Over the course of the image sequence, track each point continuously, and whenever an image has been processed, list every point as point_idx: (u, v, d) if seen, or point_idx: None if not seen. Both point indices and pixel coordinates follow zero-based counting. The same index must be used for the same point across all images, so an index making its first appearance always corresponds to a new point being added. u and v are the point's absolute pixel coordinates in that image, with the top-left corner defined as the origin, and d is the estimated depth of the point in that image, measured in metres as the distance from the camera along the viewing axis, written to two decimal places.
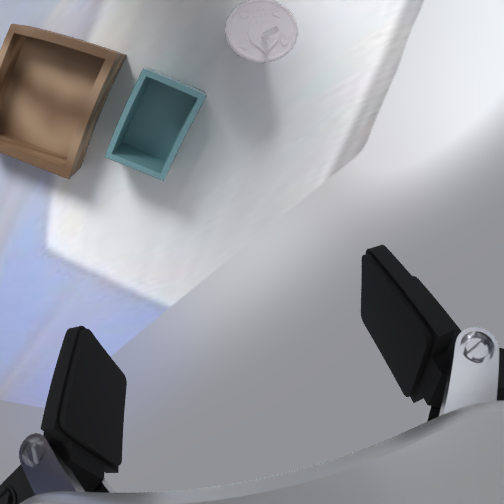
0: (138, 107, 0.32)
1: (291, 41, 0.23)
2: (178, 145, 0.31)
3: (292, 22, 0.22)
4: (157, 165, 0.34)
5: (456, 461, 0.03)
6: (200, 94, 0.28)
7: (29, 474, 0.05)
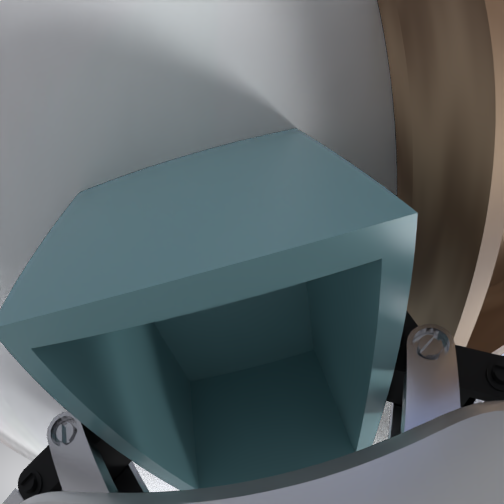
0: None
1: None
2: (111, 441, 0.06)
3: None
4: None
5: (456, 461, 0.03)
6: None
7: (55, 453, 0.05)
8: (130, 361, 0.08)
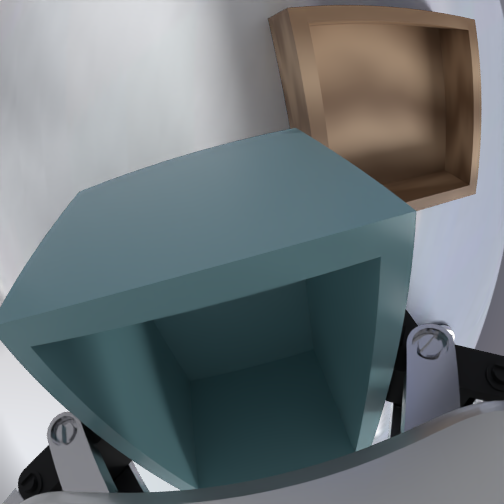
0: (301, 281, 0.11)
1: None
2: (111, 440, 0.06)
3: None
4: None
5: (456, 461, 0.03)
6: None
7: (55, 453, 0.05)
8: (130, 360, 0.08)
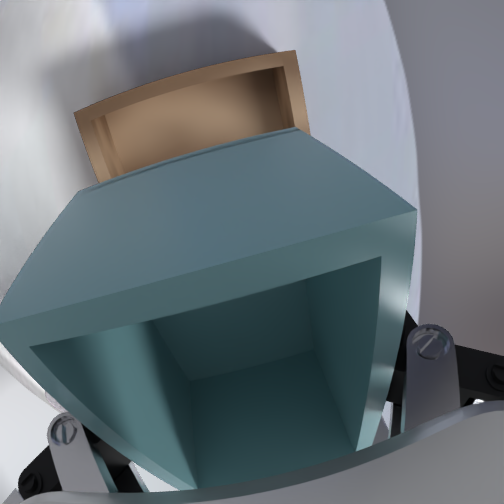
0: (301, 281, 0.11)
1: (56, 406, 0.25)
2: (110, 441, 0.06)
3: None
4: None
5: (456, 461, 0.03)
6: None
7: (55, 453, 0.05)
8: (129, 360, 0.08)
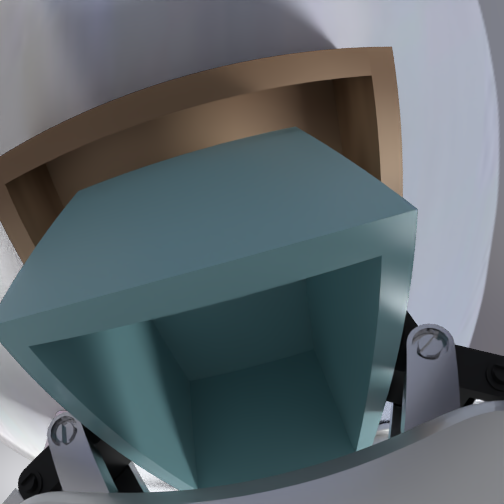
0: (301, 281, 0.11)
1: None
2: (110, 441, 0.06)
3: None
4: None
5: (456, 461, 0.03)
6: None
7: (55, 453, 0.05)
8: (129, 360, 0.08)
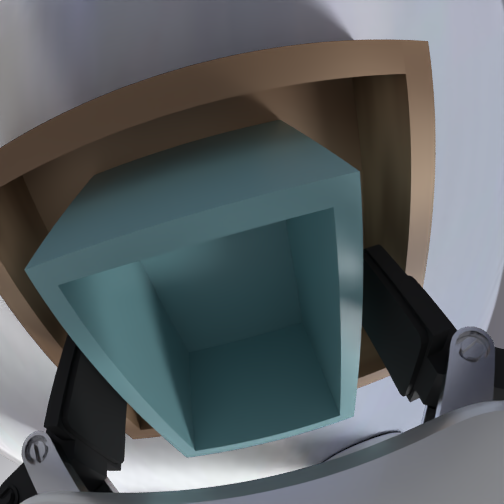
0: (288, 255, 0.13)
1: None
2: (117, 385, 0.08)
3: None
4: None
5: (456, 461, 0.03)
6: (198, 454, 0.11)
7: (31, 472, 0.05)
8: (135, 318, 0.10)
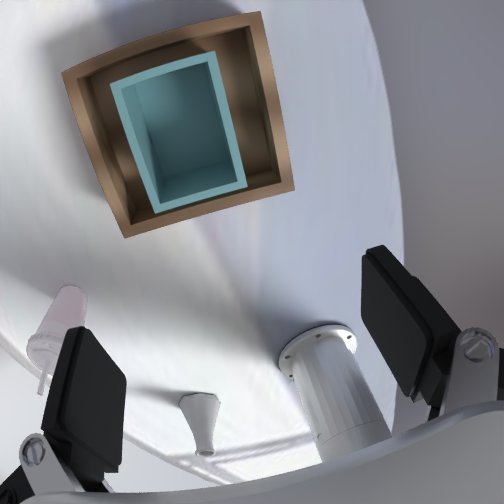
0: (215, 115, 0.24)
1: (37, 365, 0.26)
2: (130, 139, 0.19)
3: (52, 374, 0.27)
4: None
5: (456, 461, 0.03)
6: (161, 209, 0.22)
7: (29, 474, 0.05)
8: (140, 128, 0.21)
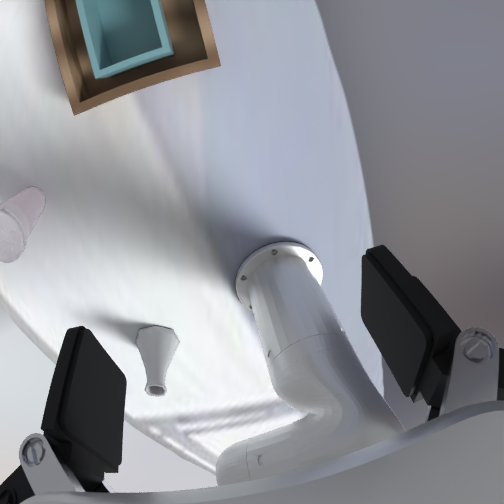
0: None
1: None
2: (82, 22, 0.19)
3: None
4: None
5: (456, 461, 0.03)
6: (100, 74, 0.22)
7: (29, 474, 0.05)
8: (94, 23, 0.21)
